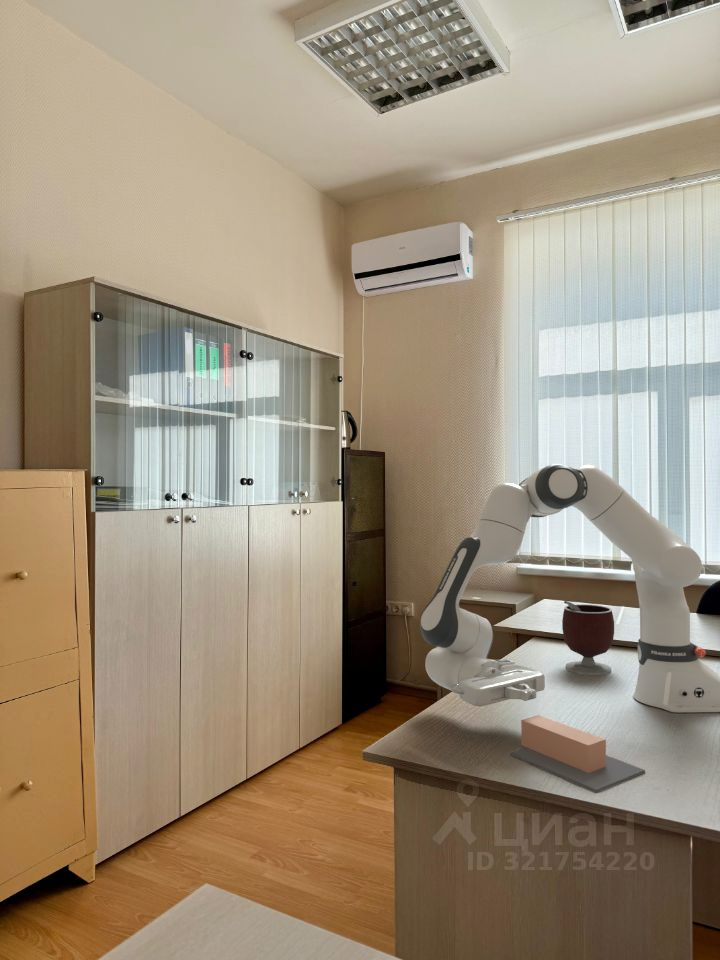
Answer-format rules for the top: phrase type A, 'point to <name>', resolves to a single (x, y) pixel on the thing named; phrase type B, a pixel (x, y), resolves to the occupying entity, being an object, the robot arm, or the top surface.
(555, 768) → the charcoal mat
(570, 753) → the terracotta block
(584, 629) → the mate gourd
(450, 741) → the top surface
